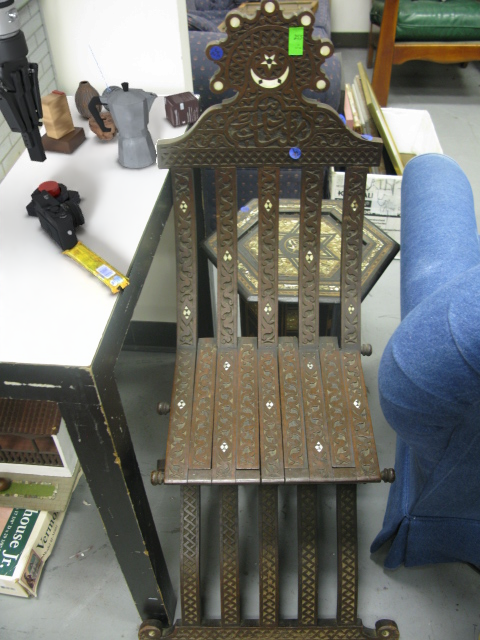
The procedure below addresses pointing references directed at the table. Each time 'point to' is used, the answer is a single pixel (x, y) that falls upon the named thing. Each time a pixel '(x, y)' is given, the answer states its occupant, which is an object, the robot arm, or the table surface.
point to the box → (181, 108)
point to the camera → (58, 218)
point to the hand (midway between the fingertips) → (38, 159)
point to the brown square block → (64, 141)
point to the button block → (57, 198)
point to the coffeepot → (129, 124)
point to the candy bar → (97, 266)
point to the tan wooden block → (56, 114)
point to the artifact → (108, 124)
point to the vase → (85, 98)
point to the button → (50, 187)
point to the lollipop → (108, 91)
